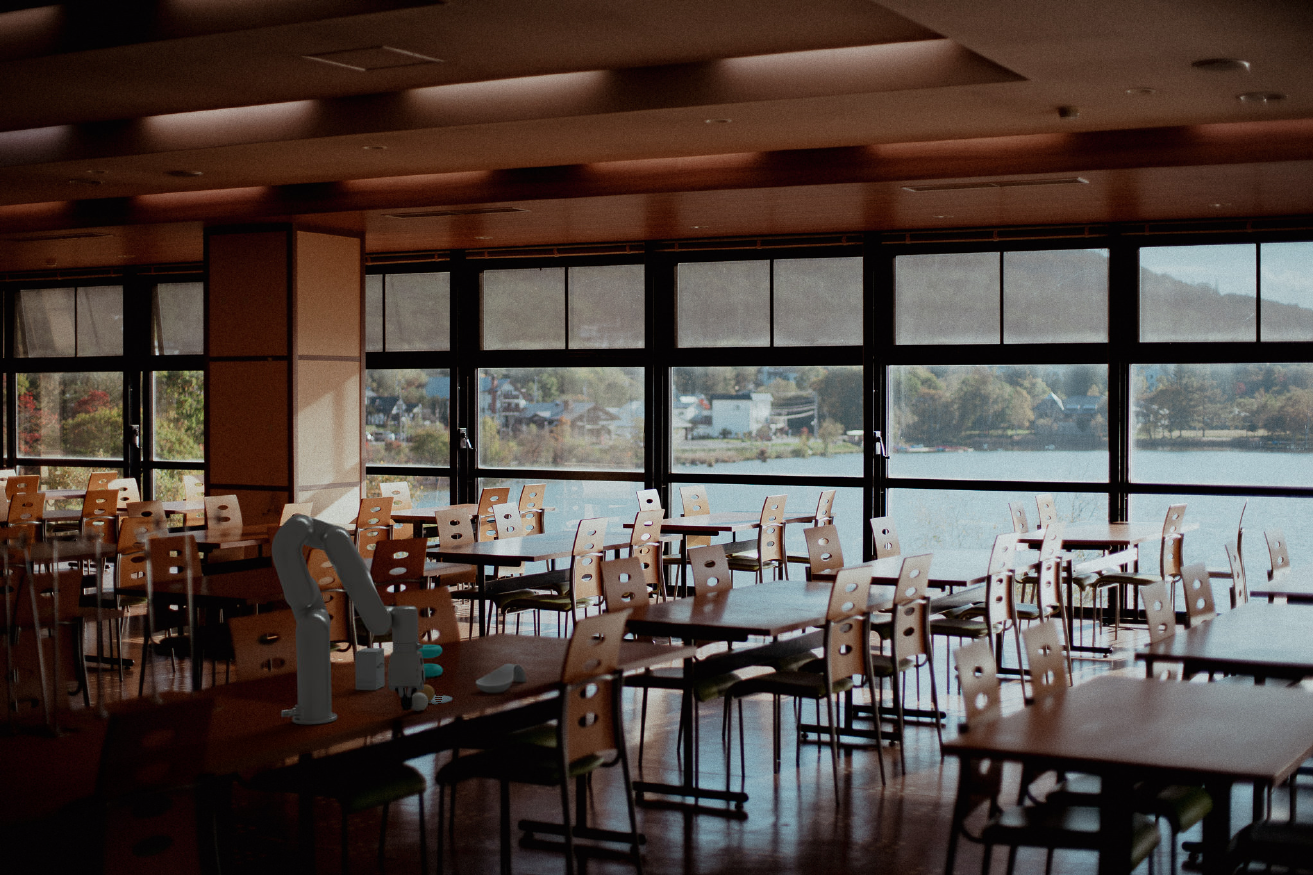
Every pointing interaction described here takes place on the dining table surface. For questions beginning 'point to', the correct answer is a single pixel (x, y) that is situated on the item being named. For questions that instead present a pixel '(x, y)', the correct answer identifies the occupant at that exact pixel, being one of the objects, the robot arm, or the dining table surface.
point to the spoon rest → (501, 678)
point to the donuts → (431, 652)
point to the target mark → (444, 700)
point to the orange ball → (428, 692)
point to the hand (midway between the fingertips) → (406, 709)
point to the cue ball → (419, 701)
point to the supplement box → (369, 668)
